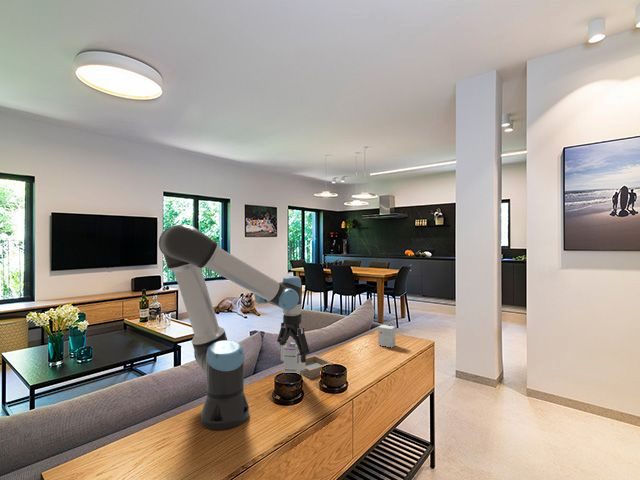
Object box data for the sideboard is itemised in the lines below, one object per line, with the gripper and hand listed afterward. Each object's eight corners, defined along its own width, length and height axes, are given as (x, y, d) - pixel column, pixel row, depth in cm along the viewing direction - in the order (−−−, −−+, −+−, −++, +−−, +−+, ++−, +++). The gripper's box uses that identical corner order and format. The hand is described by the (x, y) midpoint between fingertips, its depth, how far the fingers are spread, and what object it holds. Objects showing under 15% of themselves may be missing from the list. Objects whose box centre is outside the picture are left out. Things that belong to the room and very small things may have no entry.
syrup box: (297, 383, 132) (297, 347, 132) (283, 381, 133) (283, 346, 133) (300, 377, 137) (300, 342, 137) (287, 376, 138) (287, 342, 138)
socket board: (309, 378, 136) (309, 371, 136) (290, 368, 147) (290, 361, 147) (334, 370, 144) (334, 363, 144) (315, 360, 155) (315, 354, 155)
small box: (395, 345, 178) (395, 326, 178) (392, 348, 173) (392, 328, 173) (381, 343, 182) (381, 324, 182) (378, 346, 177) (378, 326, 177)
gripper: (318, 318, 127) (318, 371, 128) (283, 307, 147) (284, 354, 147) (302, 321, 123) (302, 377, 123) (269, 309, 142) (269, 358, 142)
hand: (292, 364), depth 135 cm, fingers open, 13 cm apart
